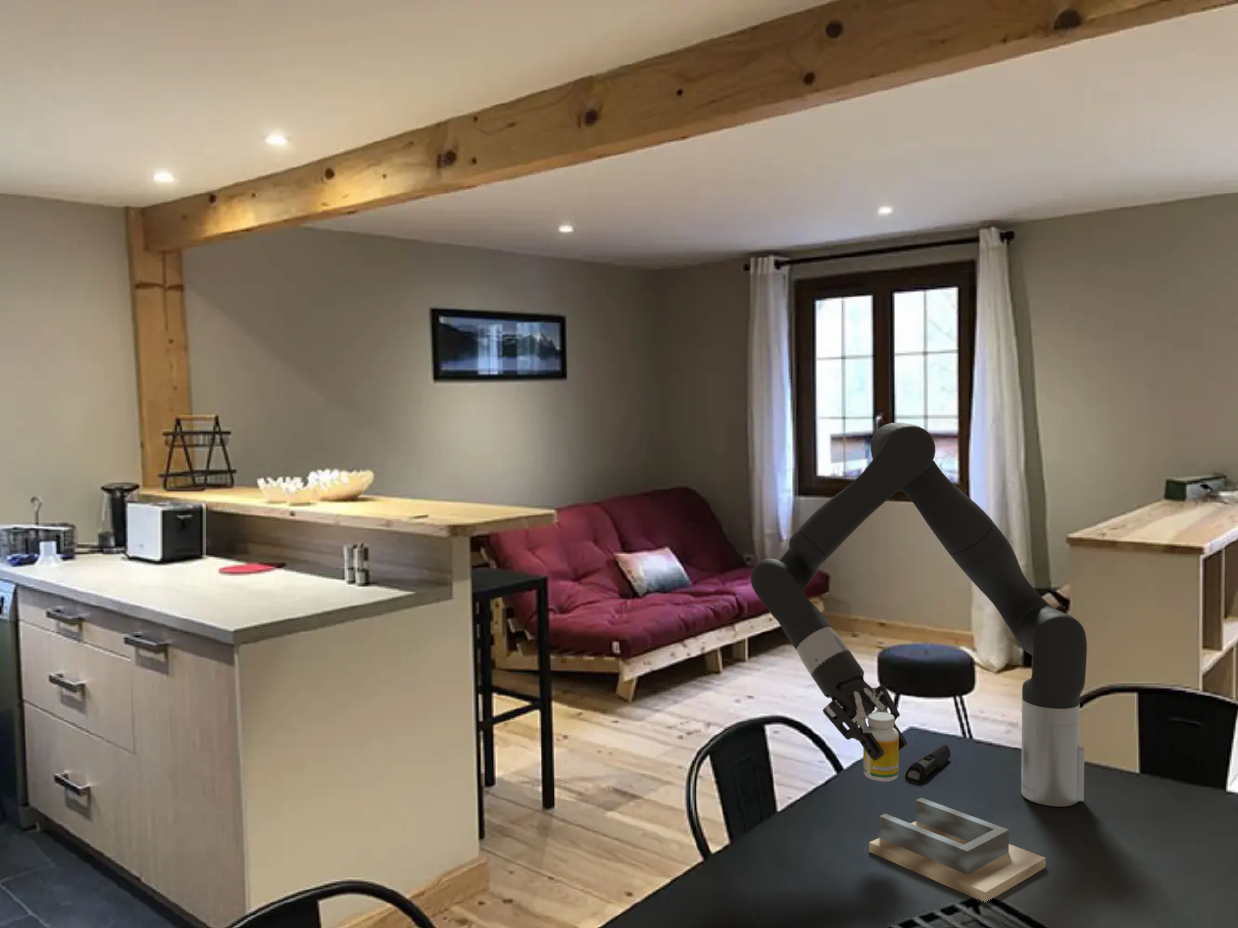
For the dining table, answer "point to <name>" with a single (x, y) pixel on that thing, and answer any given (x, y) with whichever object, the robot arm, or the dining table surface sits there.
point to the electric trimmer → (927, 765)
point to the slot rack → (955, 850)
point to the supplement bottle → (883, 748)
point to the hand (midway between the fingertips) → (891, 752)
